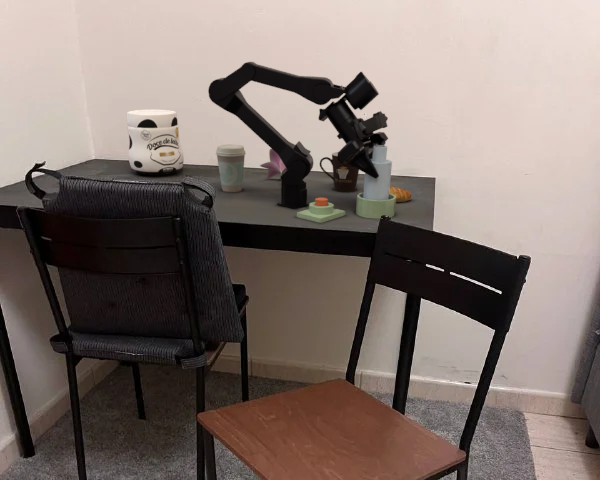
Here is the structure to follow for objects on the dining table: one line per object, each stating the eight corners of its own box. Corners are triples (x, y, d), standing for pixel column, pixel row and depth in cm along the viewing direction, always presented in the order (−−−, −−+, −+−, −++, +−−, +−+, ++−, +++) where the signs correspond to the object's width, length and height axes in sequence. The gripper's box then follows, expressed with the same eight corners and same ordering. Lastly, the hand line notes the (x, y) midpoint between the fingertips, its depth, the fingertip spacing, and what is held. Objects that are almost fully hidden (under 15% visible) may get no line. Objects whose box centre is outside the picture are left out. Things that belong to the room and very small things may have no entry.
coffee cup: (211, 189, 181) (209, 146, 175) (233, 185, 187) (231, 143, 180) (231, 194, 176) (229, 150, 170) (252, 190, 182) (251, 146, 175)
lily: (307, 184, 194) (302, 153, 193) (294, 175, 183) (289, 143, 182) (272, 194, 198) (267, 164, 198) (257, 185, 187) (252, 154, 187)
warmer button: (312, 206, 156) (312, 198, 155) (320, 203, 158) (320, 196, 157) (322, 208, 154) (322, 201, 154) (330, 205, 157) (330, 198, 156)
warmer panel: (296, 217, 157) (296, 205, 155) (321, 210, 163) (321, 198, 162) (320, 223, 152) (321, 210, 151) (345, 215, 159) (345, 203, 157)
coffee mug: (365, 189, 184) (367, 154, 179) (346, 194, 179) (348, 158, 174) (335, 183, 191) (336, 149, 186) (317, 187, 186) (318, 152, 180)
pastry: (406, 197, 177) (408, 183, 175) (414, 203, 172) (416, 188, 170) (375, 198, 176) (376, 184, 174) (382, 204, 170) (383, 189, 168)
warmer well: (348, 213, 160) (349, 196, 158) (370, 206, 167) (371, 189, 165) (380, 221, 155) (381, 202, 152) (401, 213, 161) (403, 196, 159)
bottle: (357, 205, 160) (362, 146, 152) (372, 201, 164) (377, 143, 156) (378, 210, 156) (383, 149, 148) (392, 205, 160) (398, 146, 153)
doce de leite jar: (169, 180, 192) (164, 116, 182) (120, 175, 196) (112, 113, 186) (193, 169, 206) (189, 110, 197) (146, 166, 210) (140, 108, 201)
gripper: (352, 103, 142) (391, 159, 143) (384, 97, 156) (420, 148, 157) (320, 136, 149) (358, 189, 150) (353, 128, 163) (388, 176, 164)
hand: (382, 175), depth 155 cm, fingers closed on bottle, 6 cm apart
